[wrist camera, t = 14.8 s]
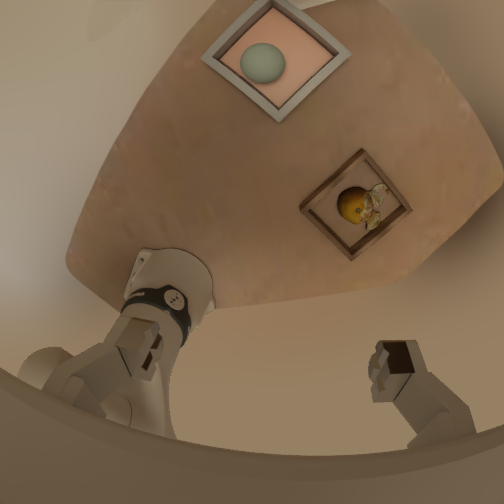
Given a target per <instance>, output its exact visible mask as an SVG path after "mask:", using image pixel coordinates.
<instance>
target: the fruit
mask: <svg viewBox="0 0 504 504" xmlns="http://www.w3.org/2000/svg"><path fill="white" fill-rule="evenodd" d="M383 187H385V195H388V191H389V188H388V187H387V186H386V184H384V183H380V184H377V185H375V186H374V188H373V189H372V191H370V192H368V191H367V190H365V189H363V188H360V187H352V188H349V189H347V190H345V191H343V192H342V193H341V194H340V196H339V200H338V209H339V213H340V215H341V216H342V217H344V218H345V219H346V220H348V221H349V222H351V223H353V224H361V223H363V222H364V221H366V222H367V225H368V227H367V228H366V230H368V231H370V230H373V229H374V228H376V227H377V226H378V225H379V224H380V222H381V219H380V217H379V216H380V213H376V212H375V211H374V210H373V207H374V206H376V207H379V206H380V205H381V203H383V199H384V197H383V196H380V195H379V194H378V191H379V190H380V189H382V188H383ZM379 188H380V189H379ZM376 219H378V221H375V220H376Z"/></svg>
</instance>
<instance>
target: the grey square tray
mask: <svg viewBox="0 0 504 504" xmlns="http://www.w3.org/2000/svg"><path fill="white" fill-rule="evenodd" d="M272 7H274V8H276V9H277V10H279V11H280V12H281V13H283V14H284V15H285V16H287V17H288V18H289V19H291V20H292V21H293V22H295V23H296V24H297V25H298V26H300V27H301V28H302V29H304V30H305V31H306V32H307V33H308V34H310V35H311V36H312V37H313V38H314V39H316V40H317V41H318V42H319V43H320V44H321V45H323V46H324V47H325V48H326V49H327V50H328V51H329V52H330V53H332V54H333V55H334V56H335V58H334V59H332V58H333V57H334V56H333V55H331V54H330V53H329V52H328V51H327V50H326V49H325V48H324V47H322V46H321V45H320V44H319V43H318V42H317V41H316V40H314V39H313V38H312V37H311V36H310V35H308V34H307V33H306V32H305V31H303V30H302V29H301V28H300V27H298V26H297V25H296V24H295V23H293V22H292V21H291V20H289V19H288V18H287V17H285V16H284V15H283V14H281V13H280V12H279V11H277V10H276V9H274V8H272ZM271 8H272V9H271ZM270 9H271V10H270ZM269 10H270V11H269ZM268 11H269V12H268ZM266 12H268V13H266ZM265 13H266V14H265ZM264 14H265V15H264ZM263 15H264V16H263ZM262 16H263V17H262ZM261 17H262V18H261ZM260 18H261V19H260ZM259 19H260V20H259ZM258 20H259V21H258ZM257 21H258V22H257ZM256 22H257V23H256ZM255 23H256V24H255ZM253 24H255V25H253ZM252 25H253V26H252ZM251 26H252V27H251ZM250 27H251V28H250ZM249 28H250V29H249ZM248 29H249V30H248ZM247 30H248V31H247ZM246 31H247V32H246ZM245 32H246V33H245ZM244 33H245V34H244ZM243 34H244V35H243ZM242 35H243V36H242ZM241 36H242V37H241ZM240 37H241V38H240ZM239 38H240V39H239ZM238 39H239V40H238ZM237 40H238V41H237ZM236 41H237V42H236ZM235 42H236V43H235ZM234 43H235V44H234ZM257 43H268V44H271V45H274V46H275V47H277V48H278V49H279V50H280V51H281V52H282V54H283V55H284V58H285V69H284V71H283V73H282V75H281V76H280V77H279V78H278V79H276V80H274V81H272V82H270V83H256V82H254V81H251V80H250V79H248V78H247V77H246V76H245V75H244V74H243V72H242V70H241V66H240V59H241V56H242V54H243V52H244V51H245V50H246V49H247V48H248V47H250V46H251V45H254V44H257ZM233 44H234V45H233ZM232 45H233V46H232ZM231 46H232V47H231ZM230 47H231V48H230ZM229 48H230V50H229V51H228V49H229ZM227 51H228V52H227ZM226 52H227V53H226ZM225 53H226V54H225ZM224 54H225V55H224ZM223 55H224V56H223ZM351 55H352V54H351V53H350V52H349V51H348V50H347V49H346V48H345V47H344V46H343V45H342V44H341V43H340V42H339V41H338V40H336V39H335V38H334V37H333V36H332V35H331V34H330V33H328V32H327V31H326V30H325V29H324V28H323V27H321V26H320V25H319V24H318V23H316V22H315V21H314V20H313V19H312V18H310V17H309V16H308V15H306V14H305V13H304V12H303V11H301V10H300V9H299V8H297V7H296V6H295V5H293V4H292V3H290V2H289V1H288V0H257V1H256V2H255V3H254V4H253V5H251V6H250V7H249V8H248V9H247V10H246V11H245V12H244V13H243V14H242V15H241V16H240V17H239V18H238V19H237V20H236V21H235V22H234V23H233V24H232V25H231V26H230V27H229V28H228V29H227V30H226V31H225V32H224V33H223V34H222V35H221V36H220V37H219V38H218V39H217V40H216V41H215V42H214V43H213V44H212V45H211V47H210V48H209V49H208V50H207V51H206V52H205V53H204V54H203V55H202V57H201V58H200V59H201V60H202V61H204V62H205V63H206V64H208V65H209V66H210V67H212V68H213V69H214V70H216V71H217V72H218V73H220V74H221V75H222V76H224V77H225V78H226V79H227V80H229V81H230V82H231V83H232V84H234V85H235V86H236V87H237V88H239V89H240V90H241V91H242V92H244V93H245V94H246V95H247V96H248V97H250V98H251V99H252V100H253V101H254V102H256V103H257V104H258V105H259V106H260V107H261V108H263V109H264V110H265V111H266V112H267V113H268V114H270V115H271V116H272V117H273V118H274V119H275V120H276V121H277V122H278V123H279V122H280V121H281V120H282V119H283V118H284V117H285V116H286V115H287V114H288V113H289V112H290V111H291V110H293V109H294V108H295V107H296V106H297V105H298V104H299V103H300V102H301V101H302V100H303V99H304V98H305V97H306V96H307V95H308V94H309V93H310V92H311V91H312V90H313V89H314V88H315V87H316V86H318V85H319V84H320V83H321V82H322V81H323V80H324V79H325V78H326V77H327V76H328V75H329V74H331V73H332V72H333V71H334V70H335V69H336V68H337V67H338V66H339V65H340V64H342V63H343V62H344V61H345V60H346V59H347V58H348V57H350V56H351ZM222 56H223V57H222ZM221 57H222V58H221ZM220 58H221V59H220ZM219 59H220V60H221V61H222V62H224V63H225V64H226V65H228V66H229V67H230V68H232V69H233V70H234V71H236V72H237V73H238V74H239V75H241V76H242V77H243V78H244V79H246V80H247V81H248V82H249V83H251V84H252V85H253V86H254V87H255V88H257V89H258V90H259V91H260V92H261V93H263V94H264V95H265V96H266V97H267V98H268V99H270V100H271V101H272V102H273V103H274V104H275V105H276V106H278V107H279V108H280V107H281V106H282V105H283V104H284V103H285V102H286V101H287V100H288V99H289V98H290V97H291V96H292V95H293V94H294V93H295V92H296V91H297V90H298V89H299V88H300V87H301V86H302V85H303V84H304V83H305V82H307V81H308V80H309V79H310V78H311V77H312V76H313V75H314V74H315V73H316V72H317V71H318V70H319V69H320V68H322V67H323V66H324V65H325V64H326V63H327V62H328V61H329V60H330V59H332V60H331V61H330V62H329V63H328V64H327V65H326V66H325V67H324V68H322V69H321V70H320V71H319V72H318V73H317V74H316V75H315V76H314V77H313V78H312V79H311V80H310V81H309V82H307V83H306V84H305V85H304V86H303V87H302V88H301V89H300V90H299V91H298V92H297V93H296V94H295V95H294V96H293V97H292V98H291V99H290V100H289V101H288V102H287V103H286V104H285V105H284V106H283V107H282V108H281V109H280V110H279V109H278V108H277V107H276V106H275V105H273V104H272V103H271V102H270V101H269V100H268V99H267V98H265V97H264V96H263V95H262V94H261V93H259V92H258V91H257V90H256V89H255V88H253V87H252V86H251V85H250V84H249V83H247V82H246V81H245V80H244V79H242V78H241V77H240V76H239V75H237V74H236V73H235V72H234V71H232V70H231V69H230V68H228V67H227V66H226V65H224V64H223V63H222V62H220V61H219Z"/></svg>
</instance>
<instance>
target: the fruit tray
mask: <svg viewBox="0 0 504 504" xmlns="http://www.w3.org/2000/svg"><path fill="white" fill-rule="evenodd" d="M364 159H365V160H366V161H367V162H368V163H369V164H370V166H371V167H372V168H373V169H374V170H375V171H376V173H377V174H378V175H379V176H380V177H381V179H382V180H383V181H384V182H385V184H386V185H387V186H388V187H389V189H390V190H391V191H392V192H393V194H394V195H395V196H396V197H397V199H398V200H399V201H400V203H401V204H402V205H401V206H399V207H398V208H397V209H396V210H395V211H394V212H393V213H391V214H390V215H389V216H388V217H387V218H386V219H384V220H383V221H382V222H381V223H380V224H379V225H378V226H377V227H376V228H374V229H373V230H371V231H370V232H369V233H368V234H367V235H365V236H364V237H363V238H362V239H361V240H359V241H358V242H357V243H356V244H354V245H353V246H352V247H351V248H349V247H348V246H347V245H346V244H345V243H344V242H343V241H342V240H341V239H340V238H339V237H338V236H337V235H336V234H335V233H334V232H333V231H332V230H331V229H330V228H329V227H328V226H327V225H326V224H325V223H324V222H323V221H322V220H321V219H320V218H319V217H318V216H317V215H316V214H315V213H314V212H313V211H312V210H311V209H310V208H311V207H312V206H314V205H315V204H316V203H317V202H318V201H319V200H320V199H321V198H322V197H324V196H325V195H326V194H327V193H328V192H329V191H330V190H331V189H332V188H333V187H335V186H336V185H337V184H338V183H339V182H340V181H341V180H342V179H343V178H345V177H346V176H347V175H348V174H349V173H350V172H351V171H352V170H353V169H354V168H356V167H357V166H358V165H359V164H360V163H361V162H362V161H363V160H364ZM300 211H301V212H302V213H303V214H304V215H305V216H306V217H307V218H308V219H309V220H310V221H311V222H312V223H313V224H314V225H315V226H316V227H317V228H318V229H319V230H320V231H321V232H322V233H323V234H324V235H325V236H326V237H327V238H328V239H329V240H330V241H331V242H332V243H333V244H334V245H335V246H336V247H337V248H338V249H339V250H340V251H341V252H342V253H343V254H344V255H345V256H346V257H347V258H348V259H349V260H350V261H353V260H354V259H355V258H356V257H358V256H359V255H360V254H361V253H363V252H364V251H365V250H366V249H368V248H369V247H370V246H371V245H373V244H374V243H375V242H376V241H378V240H379V239H380V238H381V237H382V236H384V235H385V234H386V233H387V232H388V231H390V230H391V229H392V228H393V227H394V226H395V225H397V224H398V223H399V222H400V221H401V220H403V219H404V218H405V217H406V216H407V215H408V214H409V213H411V212H412V211H413V210H412V208H411V207H410V206H409V204H408V203H407V202H406V200H405V199H404V198H403V196H402V195H401V194H400V192H399V191H398V190H397V188H396V187H395V186H394V185H393V183H392V182H391V181H390V180H389V178H388V177H387V176H386V175H385V173H384V172H383V171H382V170H381V168H380V167H379V166H378V165H377V164H376V163H375V161H374V160H373V159H372V158H371V157H370V156H369V154H368V153H367V152H366V151H365V150H364V149H362V148H361V149H360V150H359V151H358V152H357V153H356V154H355V155H354V156H353V157H351V158H350V159H349V160H348V161H347V162H346V163H345V164H344V165H343V166H342V167H341V168H339V169H338V170H337V171H336V172H335V173H334V174H333V175H332V176H331V177H330V178H329V179H327V180H326V181H325V182H324V183H323V184H322V185H321V186H320V187H319V188H318V189H317V190H315V191H314V192H313V193H312V194H311V195H310V196H309V197H308V198H307V199H306V200H305V201H303V202H302V203H301V204H300Z"/></svg>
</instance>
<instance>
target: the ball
mask: <svg viewBox="0 0 504 504" xmlns="http://www.w3.org/2000/svg"><path fill="white" fill-rule="evenodd" d="M240 66H241V70H242V72H243V74H244V75H245V76H246V77H247V78H248V79H250V80H251V81H254V82H256V83H270V82H272V81H274V80H276V79H278V78H279V77H280V76H281V75H282V73H283V71H284V69H285V58H284V55H283V54H282V52H281V51H280V50H279V49H278V48H277V47H275V46H274V45H271V44H268V43H257V44H254V45H251V46H250V47H248V48H247V49H246V50H245V51H244V52H243V54H242V56H241V59H240Z"/></svg>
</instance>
